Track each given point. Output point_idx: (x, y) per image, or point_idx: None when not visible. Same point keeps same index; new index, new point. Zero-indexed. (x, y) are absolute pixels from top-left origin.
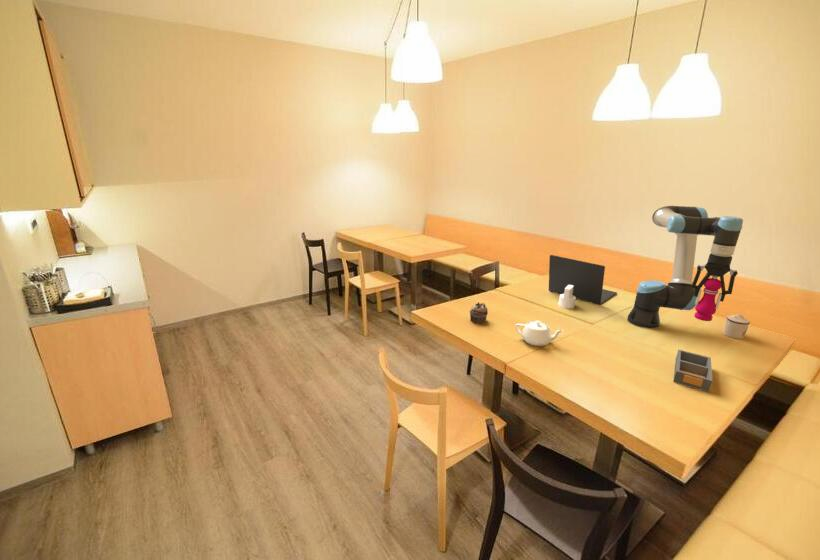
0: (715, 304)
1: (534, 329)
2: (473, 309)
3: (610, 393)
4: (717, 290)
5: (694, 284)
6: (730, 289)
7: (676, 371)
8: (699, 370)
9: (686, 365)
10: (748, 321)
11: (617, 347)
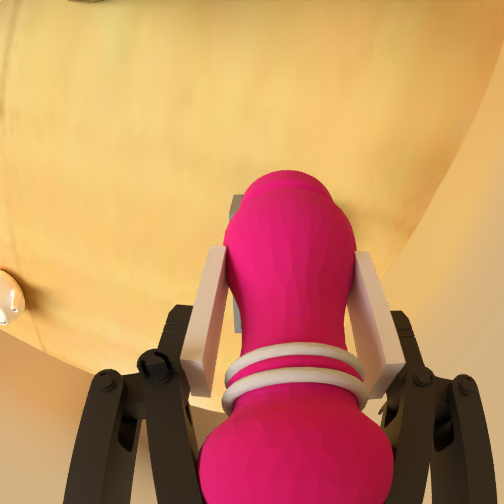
0: (349, 292)
1: (2, 324)
2: None
3: None
4: (358, 405)
5: (126, 436)
6: (439, 448)
7: (235, 332)
8: None
9: None
10: None
11: (92, 218)
